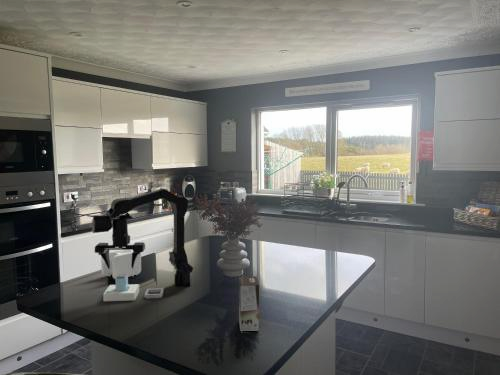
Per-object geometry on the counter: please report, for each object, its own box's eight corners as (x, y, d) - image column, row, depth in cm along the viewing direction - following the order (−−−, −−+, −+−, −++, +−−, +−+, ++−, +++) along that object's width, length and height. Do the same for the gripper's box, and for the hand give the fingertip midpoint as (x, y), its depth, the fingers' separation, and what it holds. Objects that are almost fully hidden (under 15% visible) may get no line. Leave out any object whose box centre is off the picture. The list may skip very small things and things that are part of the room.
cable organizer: (112, 282, 174) (111, 257, 172) (101, 277, 181) (100, 252, 179) (141, 274, 185) (141, 250, 184) (129, 269, 192) (129, 247, 191)
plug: (128, 294, 160) (127, 273, 159) (126, 297, 156) (125, 276, 155) (118, 294, 159) (117, 273, 158) (115, 298, 155) (115, 277, 154)
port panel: (139, 291, 163) (139, 283, 163) (134, 300, 153) (134, 292, 153) (110, 291, 162) (109, 284, 162) (103, 301, 152) (103, 292, 152)
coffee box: (259, 332, 128) (259, 285, 126) (240, 332, 127) (240, 285, 125) (256, 319, 137) (256, 275, 135) (238, 320, 136) (238, 276, 134)
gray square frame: (163, 291, 163) (163, 288, 162) (161, 297, 156) (161, 294, 156) (147, 292, 162) (147, 288, 162) (144, 298, 155) (144, 294, 155)
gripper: (147, 226, 164) (147, 262, 165) (101, 226, 162) (102, 262, 163) (142, 231, 153) (143, 270, 154) (93, 232, 151) (94, 271, 152)
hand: (120, 268), depth 156 cm, fingers open, 9 cm apart
